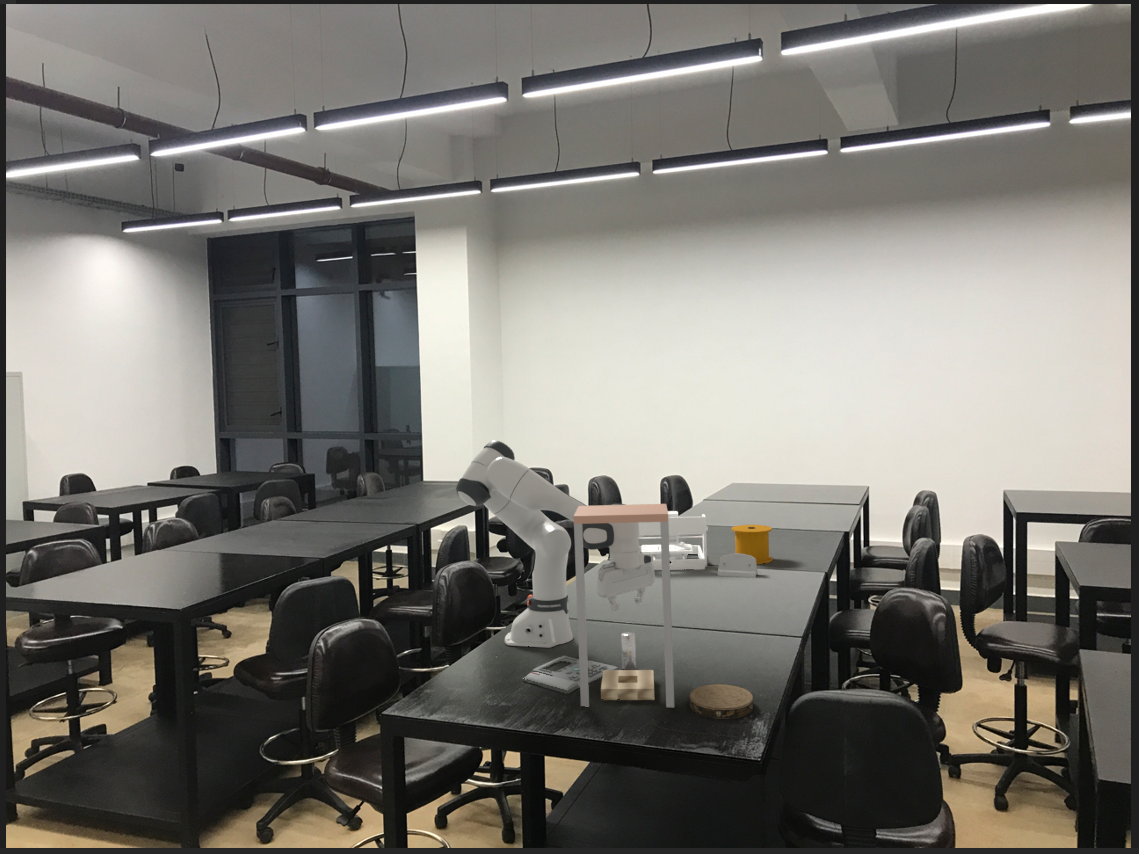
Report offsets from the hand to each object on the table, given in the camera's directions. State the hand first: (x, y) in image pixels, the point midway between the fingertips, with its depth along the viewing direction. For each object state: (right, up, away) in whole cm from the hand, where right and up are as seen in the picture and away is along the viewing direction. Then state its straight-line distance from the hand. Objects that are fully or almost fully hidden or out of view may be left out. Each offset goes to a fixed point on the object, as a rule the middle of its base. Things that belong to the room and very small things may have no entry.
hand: (626, 606), depth 238 cm
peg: (+1, -18, +1) cm, 18 cm away
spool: (+67, -9, +135) cm, 151 cm away
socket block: (-1, -19, -16) cm, 25 cm away
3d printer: (+29, -10, +138) cm, 142 cm away
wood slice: (+22, -20, -29) cm, 41 cm away
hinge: (+55, -11, +109) cm, 123 cm away
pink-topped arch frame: (-1, -19, -19) cm, 27 cm away
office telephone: (-18, -20, -2) cm, 27 cm away
